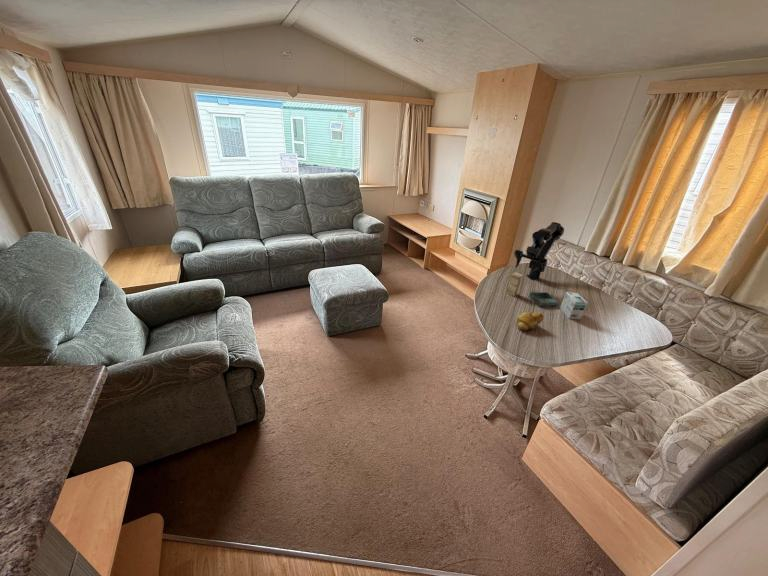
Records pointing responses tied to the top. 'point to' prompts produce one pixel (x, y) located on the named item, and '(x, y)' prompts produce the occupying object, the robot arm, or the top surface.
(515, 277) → the tall beech block
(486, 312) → the top surface
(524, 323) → the bread roll
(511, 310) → the top surface
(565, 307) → the light bulb box
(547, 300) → the grey green tray
